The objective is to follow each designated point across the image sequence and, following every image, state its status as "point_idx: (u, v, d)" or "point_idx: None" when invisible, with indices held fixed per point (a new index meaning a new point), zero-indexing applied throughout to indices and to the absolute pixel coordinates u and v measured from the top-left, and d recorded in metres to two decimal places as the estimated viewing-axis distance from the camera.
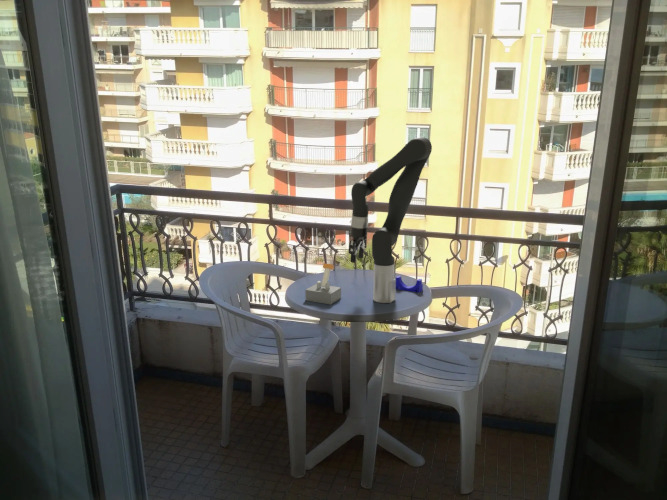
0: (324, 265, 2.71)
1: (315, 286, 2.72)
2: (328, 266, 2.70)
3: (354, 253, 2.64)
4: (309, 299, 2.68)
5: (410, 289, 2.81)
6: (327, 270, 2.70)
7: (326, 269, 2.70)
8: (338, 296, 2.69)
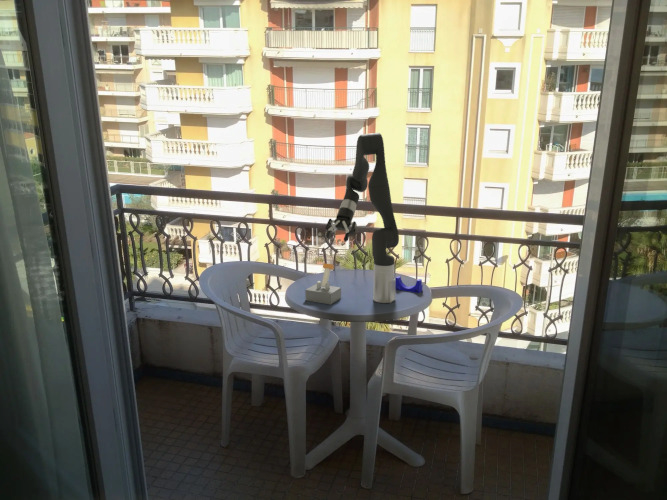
0: (324, 265, 2.71)
1: (315, 286, 2.72)
2: (328, 266, 2.70)
3: None
4: (309, 299, 2.68)
5: (410, 289, 2.80)
6: (327, 270, 2.70)
7: (326, 269, 2.70)
8: (338, 296, 2.69)
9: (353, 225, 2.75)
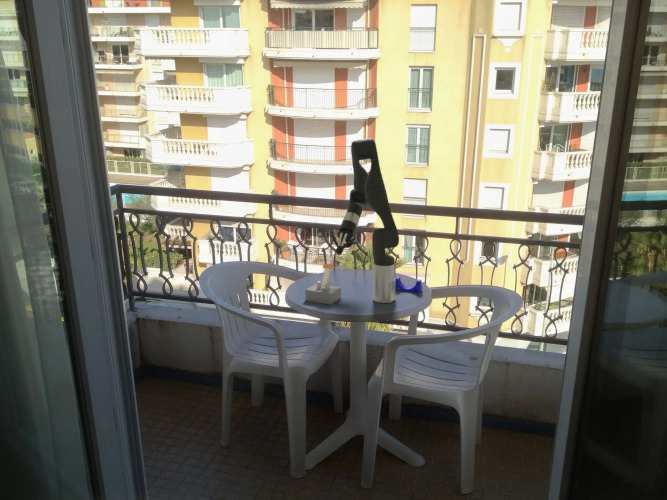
0: (324, 265, 2.71)
1: (315, 286, 2.72)
2: (328, 266, 2.70)
3: (338, 244, 2.81)
4: (309, 299, 2.68)
5: (410, 290, 2.79)
6: (327, 270, 2.70)
7: (326, 269, 2.70)
8: (338, 296, 2.69)
9: (351, 240, 2.79)
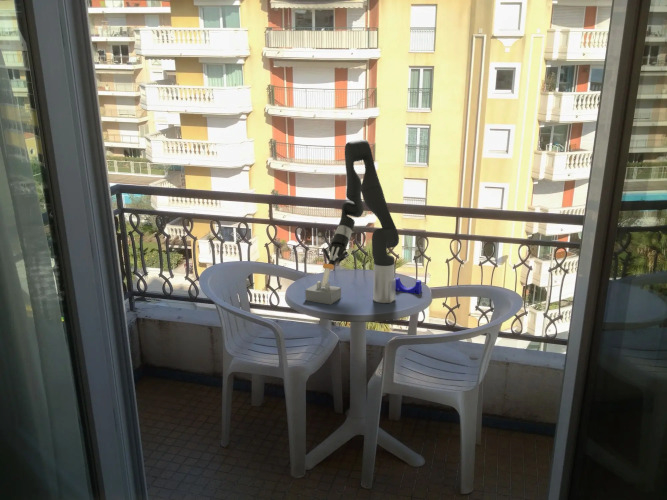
0: (324, 265, 2.71)
1: (315, 286, 2.72)
2: (328, 266, 2.70)
3: (330, 258, 2.75)
4: (309, 299, 2.68)
5: (409, 290, 2.79)
6: (327, 270, 2.70)
7: (326, 269, 2.70)
8: (338, 296, 2.69)
9: (343, 254, 2.73)
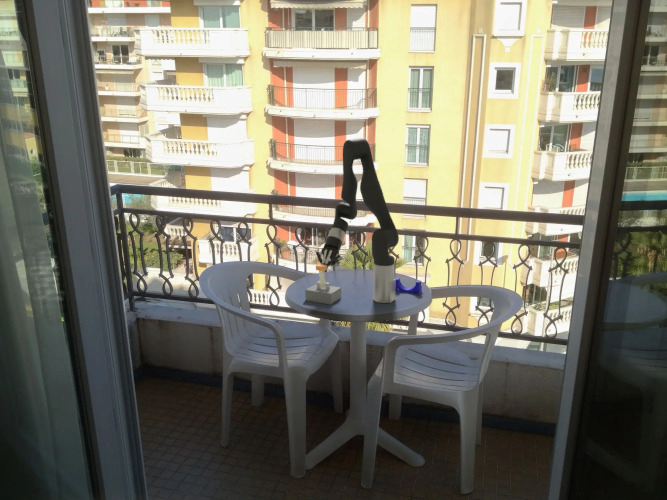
0: (317, 268, 2.65)
1: (315, 286, 2.72)
2: (321, 269, 2.64)
3: (322, 262, 2.69)
4: (309, 299, 2.68)
5: (409, 291, 2.78)
6: (321, 272, 2.65)
7: (320, 271, 2.65)
8: (338, 296, 2.69)
9: (335, 258, 2.67)
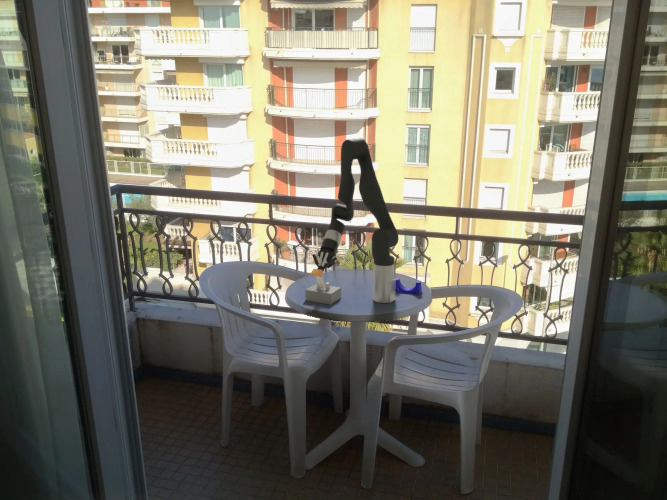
0: (313, 274, 2.62)
1: (315, 286, 2.72)
2: (317, 275, 2.61)
3: None
4: (309, 299, 2.68)
5: (409, 291, 2.78)
6: (318, 277, 2.63)
7: (317, 276, 2.63)
8: (338, 296, 2.69)
9: (332, 260, 2.65)
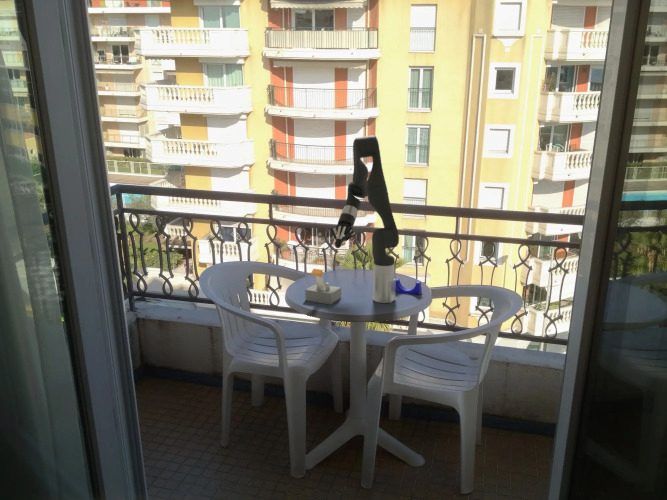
0: (313, 274, 2.62)
1: (315, 286, 2.72)
2: (317, 275, 2.61)
3: None
4: (309, 299, 2.68)
5: (409, 292, 2.77)
6: (318, 277, 2.63)
7: (317, 276, 2.63)
8: (338, 296, 2.69)
9: (349, 233, 2.78)
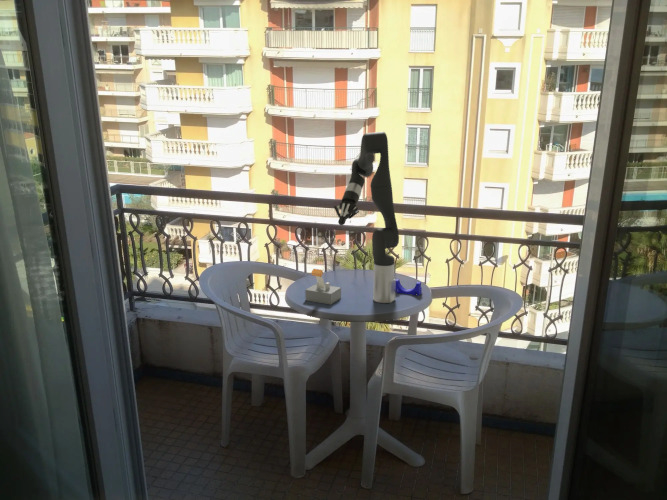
0: (313, 274, 2.62)
1: (315, 286, 2.72)
2: (317, 275, 2.61)
3: None
4: (309, 299, 2.68)
5: (409, 292, 2.76)
6: (318, 277, 2.63)
7: (317, 276, 2.63)
8: (338, 296, 2.69)
9: (353, 210, 2.76)
